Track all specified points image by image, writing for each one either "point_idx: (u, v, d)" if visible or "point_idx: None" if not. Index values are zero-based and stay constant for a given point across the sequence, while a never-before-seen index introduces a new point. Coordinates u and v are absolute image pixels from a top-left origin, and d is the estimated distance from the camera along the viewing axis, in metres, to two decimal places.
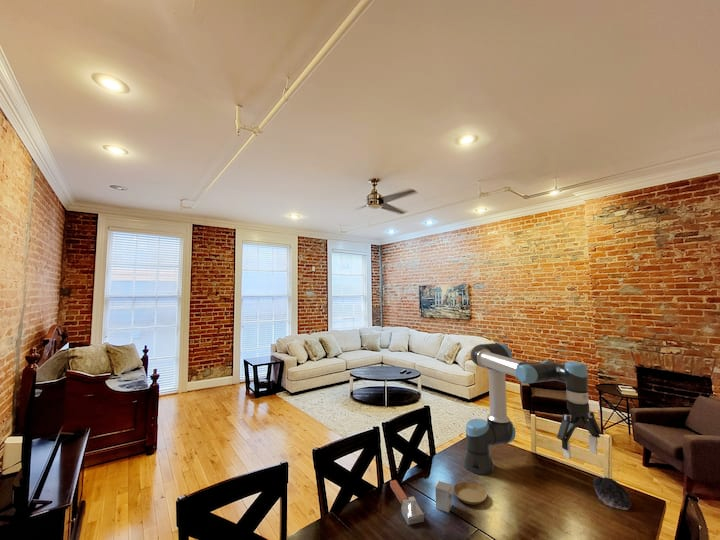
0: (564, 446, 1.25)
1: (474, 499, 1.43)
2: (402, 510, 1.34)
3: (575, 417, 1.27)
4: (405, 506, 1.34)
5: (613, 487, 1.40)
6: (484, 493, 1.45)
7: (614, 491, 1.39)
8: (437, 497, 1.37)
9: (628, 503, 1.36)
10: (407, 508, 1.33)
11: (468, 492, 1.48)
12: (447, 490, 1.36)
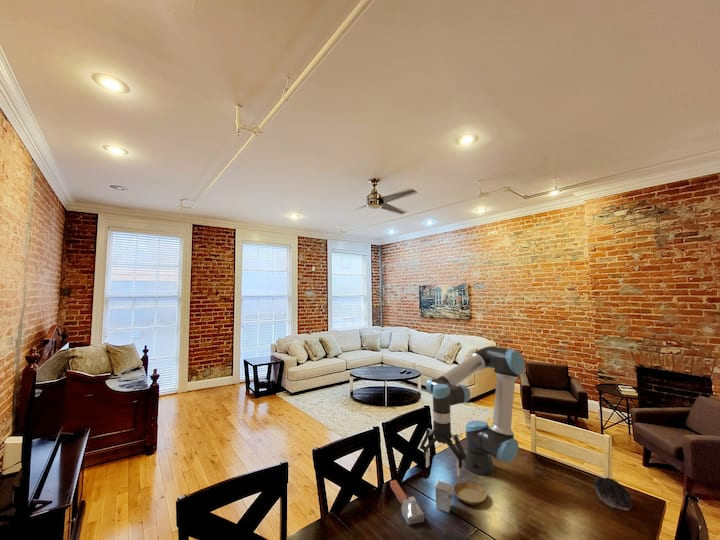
0: (424, 455, 1.43)
1: (474, 499, 1.43)
2: (402, 510, 1.34)
3: (435, 433, 1.41)
4: (405, 506, 1.34)
5: (614, 487, 1.40)
6: (484, 493, 1.45)
7: (615, 491, 1.39)
8: (437, 497, 1.37)
9: (629, 503, 1.36)
10: (407, 508, 1.33)
11: (468, 492, 1.48)
12: (447, 490, 1.36)
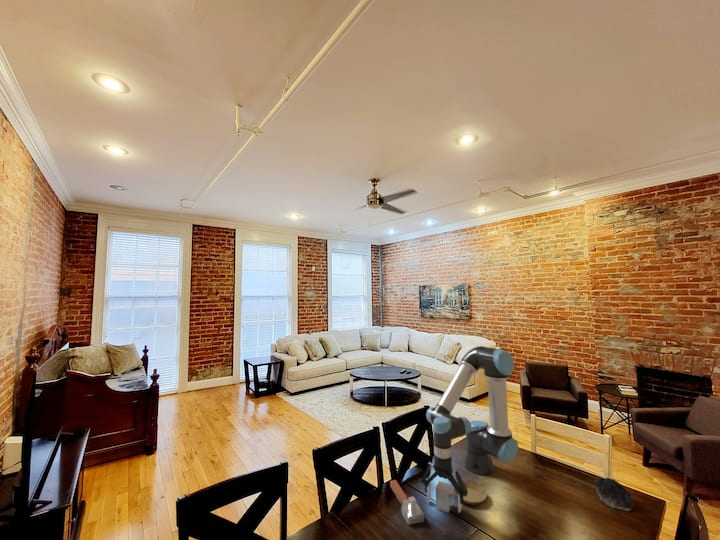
0: (425, 488, 1.43)
1: (474, 499, 1.43)
2: (402, 510, 1.34)
3: (436, 468, 1.40)
4: (405, 506, 1.34)
5: (615, 488, 1.40)
6: (484, 493, 1.45)
7: (616, 492, 1.39)
8: (437, 497, 1.37)
9: (630, 504, 1.36)
10: (407, 508, 1.33)
11: (468, 492, 1.48)
12: (447, 490, 1.36)
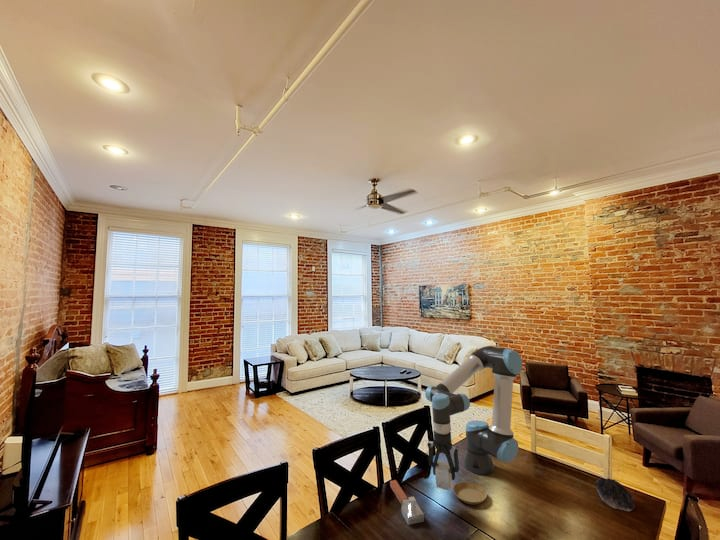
0: None
1: (474, 499, 1.43)
2: (402, 510, 1.34)
3: (435, 443, 1.41)
4: (405, 506, 1.34)
5: (616, 488, 1.39)
6: (484, 493, 1.45)
7: (617, 492, 1.38)
8: (437, 475, 1.38)
9: (631, 504, 1.35)
10: (407, 508, 1.33)
11: (468, 492, 1.48)
12: (447, 468, 1.37)
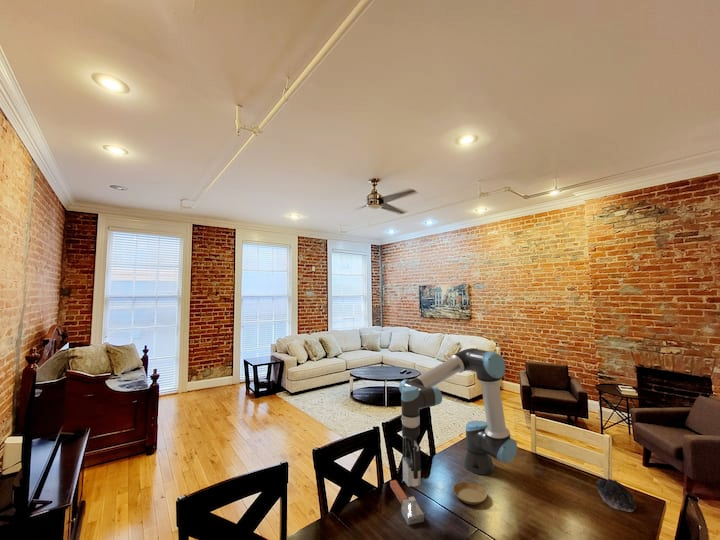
0: None
1: (474, 499, 1.43)
2: (402, 510, 1.34)
3: (405, 435, 1.37)
4: (405, 506, 1.34)
5: (617, 489, 1.39)
6: (484, 493, 1.45)
7: (619, 493, 1.38)
8: (403, 468, 1.35)
9: (633, 505, 1.35)
10: (407, 508, 1.33)
11: (468, 492, 1.48)
12: (408, 463, 1.31)
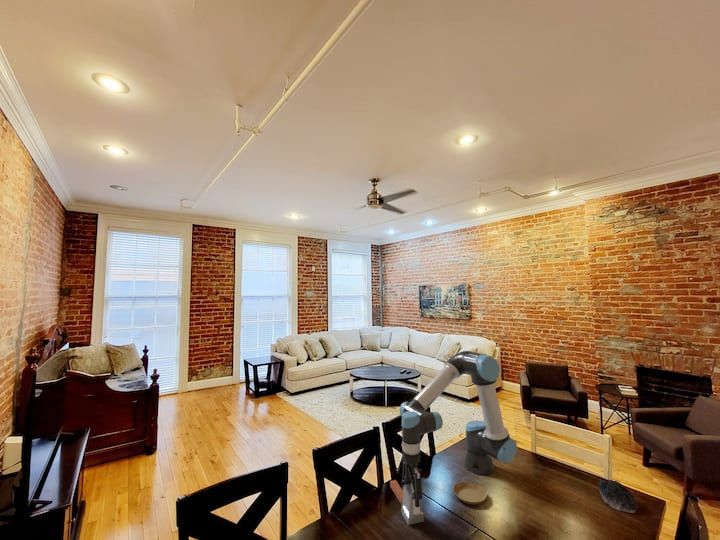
0: None
1: (474, 499, 1.43)
2: (402, 510, 1.34)
3: None
4: None
5: (619, 490, 1.38)
6: (484, 493, 1.45)
7: (620, 494, 1.37)
8: (404, 495, 1.34)
9: (635, 505, 1.35)
10: None
11: (468, 492, 1.48)
12: (409, 492, 1.30)
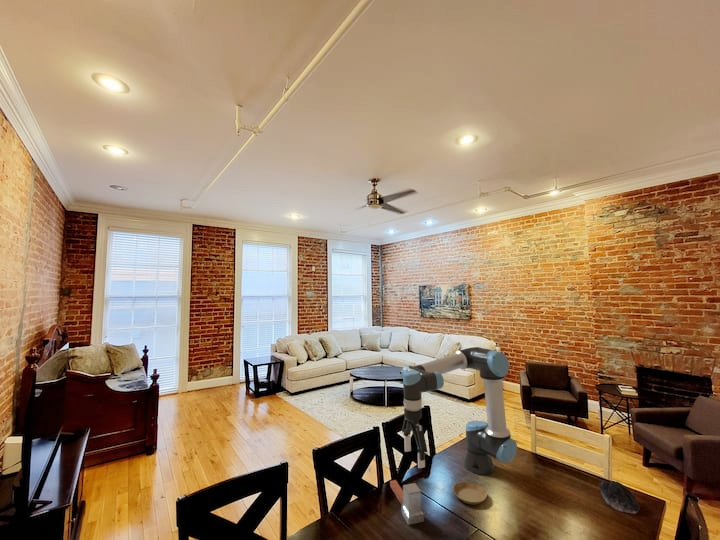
0: None
1: (474, 499, 1.43)
2: (402, 510, 1.34)
3: (408, 419, 1.38)
4: None
5: (621, 490, 1.38)
6: (484, 493, 1.45)
7: (622, 495, 1.37)
8: (404, 495, 1.34)
9: (637, 506, 1.34)
10: None
11: (468, 492, 1.48)
12: (409, 492, 1.30)
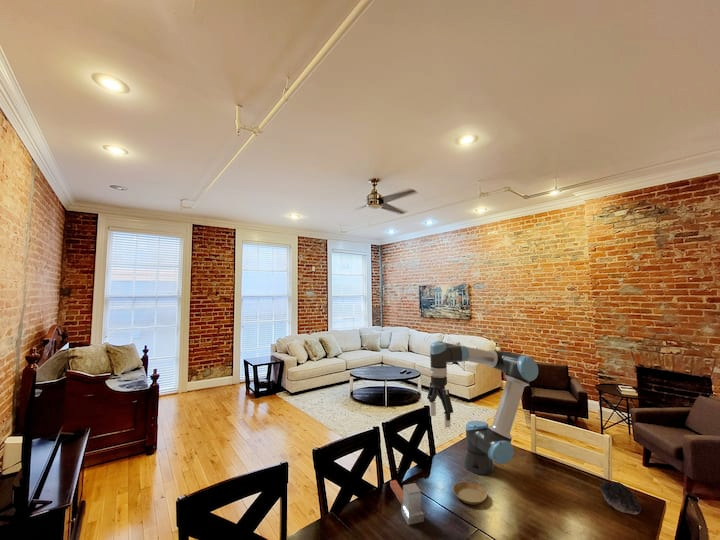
0: None
1: (474, 499, 1.43)
2: (402, 510, 1.34)
3: (434, 386, 1.54)
4: None
5: (623, 491, 1.37)
6: (484, 493, 1.45)
7: (624, 495, 1.36)
8: (404, 495, 1.34)
9: (638, 507, 1.34)
10: None
11: (468, 492, 1.48)
12: (409, 492, 1.30)
